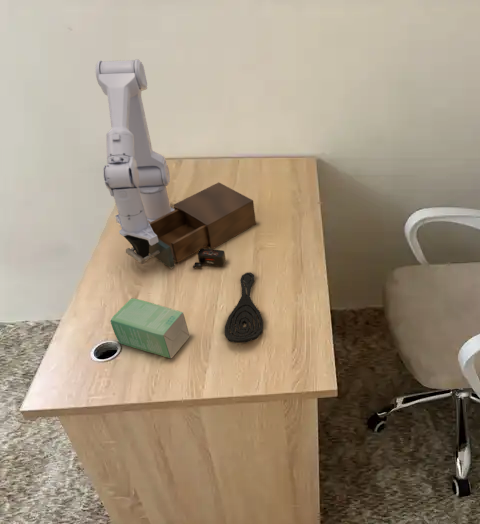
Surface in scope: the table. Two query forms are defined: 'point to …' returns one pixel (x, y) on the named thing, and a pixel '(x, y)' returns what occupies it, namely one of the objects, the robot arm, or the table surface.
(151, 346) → the box
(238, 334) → the hairbrush
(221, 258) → the wireless earbuds
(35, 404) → the table surface
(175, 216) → the drawer
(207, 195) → the cabinet
